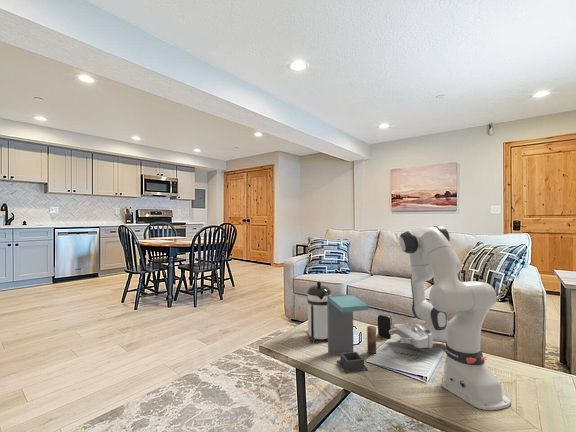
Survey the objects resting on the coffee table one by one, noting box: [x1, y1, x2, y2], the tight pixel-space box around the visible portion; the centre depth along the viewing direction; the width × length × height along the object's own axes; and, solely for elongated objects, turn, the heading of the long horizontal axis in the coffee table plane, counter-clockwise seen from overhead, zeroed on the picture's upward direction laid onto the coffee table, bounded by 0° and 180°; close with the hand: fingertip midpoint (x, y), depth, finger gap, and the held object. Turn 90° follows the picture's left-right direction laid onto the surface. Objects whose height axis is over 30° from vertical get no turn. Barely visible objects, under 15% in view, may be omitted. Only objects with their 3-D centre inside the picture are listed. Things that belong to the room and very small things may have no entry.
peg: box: [366, 325, 377, 356], centre depth 139 cm, size 4×4×12 cm
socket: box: [336, 351, 369, 374], centre depth 127 cm, size 10×10×4 cm
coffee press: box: [306, 281, 332, 343], centre depth 158 cm, size 17×16×30 cm
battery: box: [377, 313, 393, 339], centre depth 158 cm, size 7×4×11 cm, turn 54°
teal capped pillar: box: [327, 293, 370, 355], centre depth 132 cm, size 18×12×27 cm, turn 12°
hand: (394, 336), depth 142 cm, fingers open, 8 cm apart
